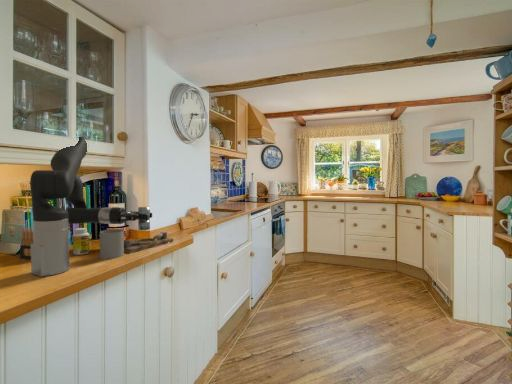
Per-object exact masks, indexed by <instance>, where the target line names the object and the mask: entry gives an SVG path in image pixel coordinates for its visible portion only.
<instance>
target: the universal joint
mask: <svg viewBox="0 0 512 384" xmlns="http://www.w3.org/2000/svg"><path fill="white" fill-rule="evenodd" d="M137 211H138V214H147V215H148V219H147V220H142V219H139V220H137V227H138V228H137V230H139V231H147V230H150V229H151V220H150V219H151V218H150V213H151V207H150V206H139V207H137Z"/></svg>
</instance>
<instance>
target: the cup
mask: <svg viewBox="0 0 512 384" xmlns="http://www.w3.org/2000/svg"><path fill="white" fill-rule="evenodd" d="M124 233H125V232H124V229H121V228H115V229H114V228H113V229H111V228H110V229H104V230H100V231H99V258H100V259H103V260H112V259H118V258H121V257H123V256H125V252H124V239H125V238H124V237H125V236H124V235H125V234H124Z"/></svg>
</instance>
